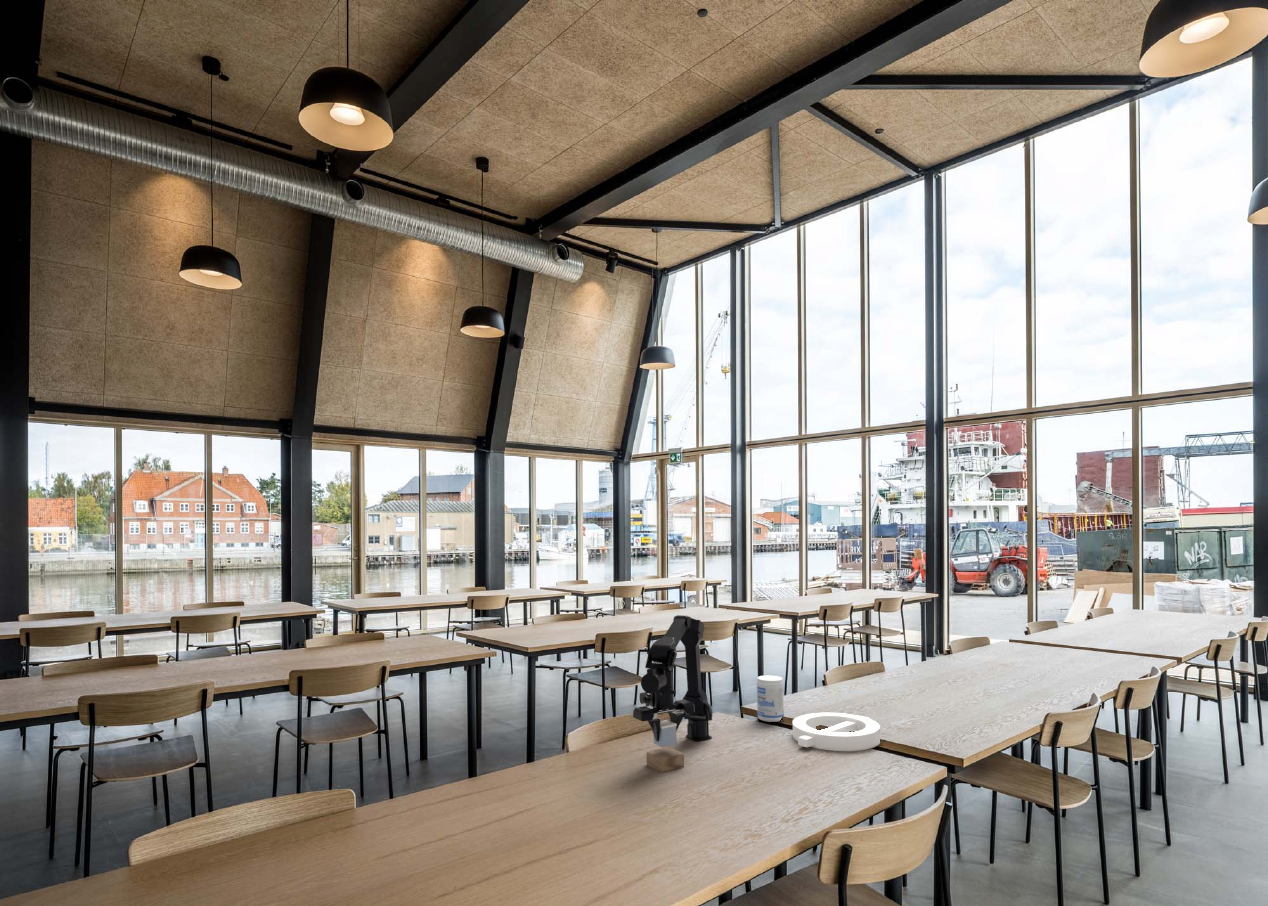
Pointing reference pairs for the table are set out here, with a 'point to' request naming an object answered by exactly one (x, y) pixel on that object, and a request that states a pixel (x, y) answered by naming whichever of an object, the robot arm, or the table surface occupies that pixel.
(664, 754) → the walnut block
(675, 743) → the white block
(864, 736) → the ring with crossbar
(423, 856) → the table surface
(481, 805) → the table surface
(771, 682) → the supplement tub
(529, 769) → the table surface
